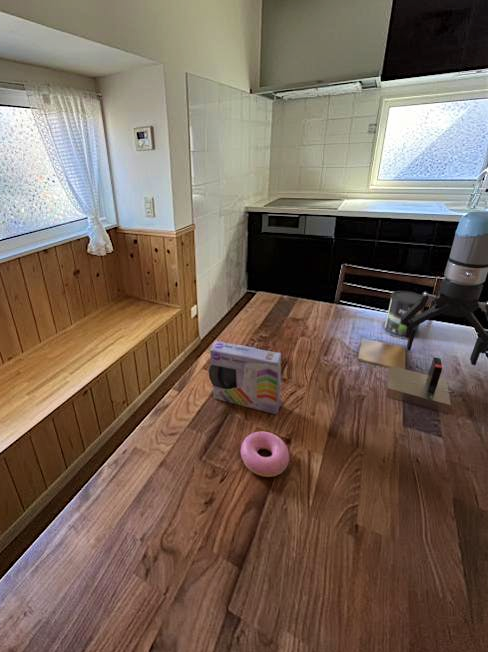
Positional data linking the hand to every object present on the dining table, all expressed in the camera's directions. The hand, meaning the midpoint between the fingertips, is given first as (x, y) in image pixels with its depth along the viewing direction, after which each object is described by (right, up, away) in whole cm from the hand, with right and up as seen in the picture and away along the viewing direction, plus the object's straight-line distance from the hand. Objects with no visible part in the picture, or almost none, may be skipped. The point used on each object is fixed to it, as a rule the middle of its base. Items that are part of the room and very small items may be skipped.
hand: (439, 354), depth 87 cm
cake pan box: (-50, -15, +8) cm, 52 cm away
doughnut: (-48, -22, -9) cm, 53 cm away
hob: (-2, -12, +7) cm, 14 cm away
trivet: (-2, -5, +23) cm, 23 cm away
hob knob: (+1, -9, +4) cm, 10 cm away
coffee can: (+12, +1, +34) cm, 36 cm away
